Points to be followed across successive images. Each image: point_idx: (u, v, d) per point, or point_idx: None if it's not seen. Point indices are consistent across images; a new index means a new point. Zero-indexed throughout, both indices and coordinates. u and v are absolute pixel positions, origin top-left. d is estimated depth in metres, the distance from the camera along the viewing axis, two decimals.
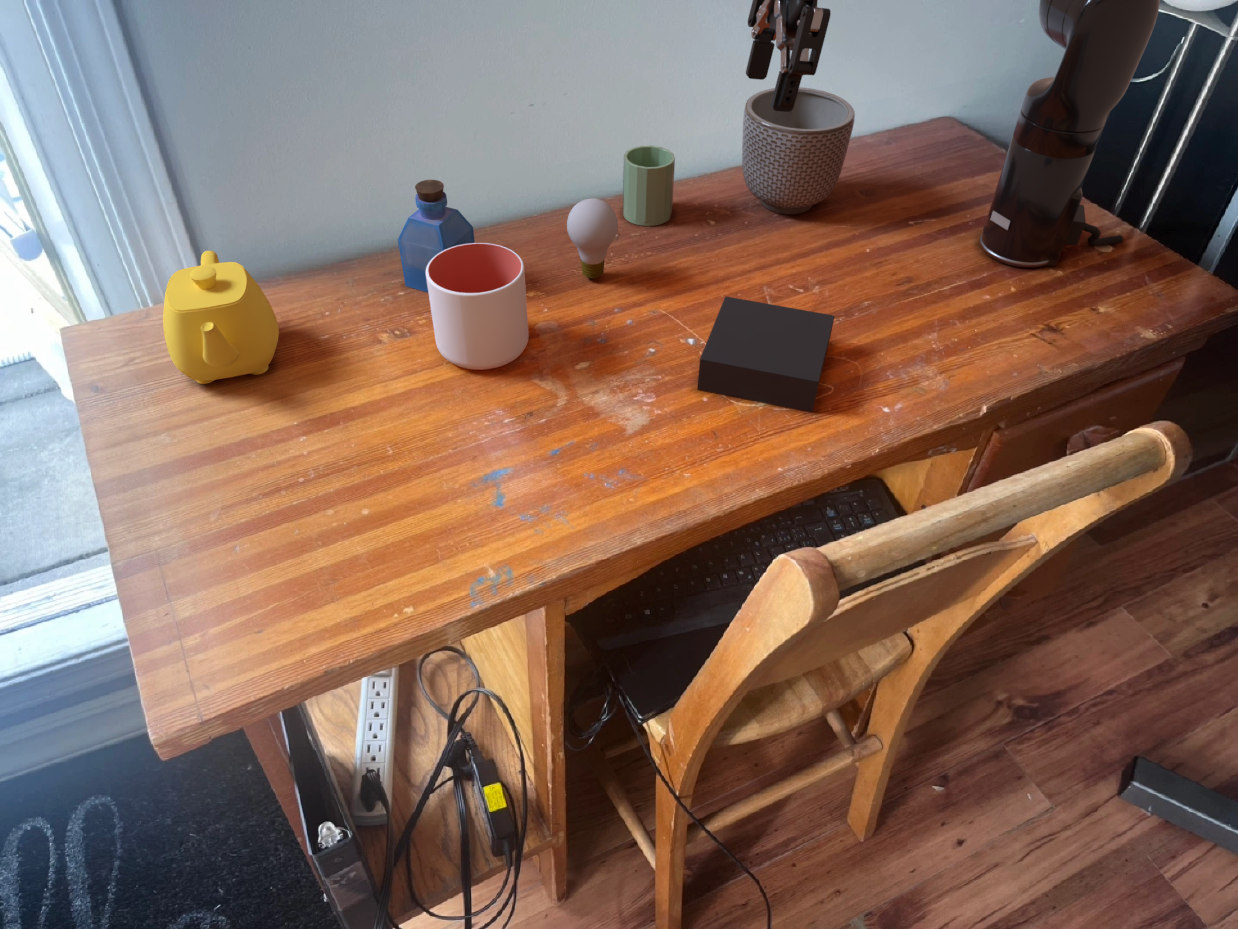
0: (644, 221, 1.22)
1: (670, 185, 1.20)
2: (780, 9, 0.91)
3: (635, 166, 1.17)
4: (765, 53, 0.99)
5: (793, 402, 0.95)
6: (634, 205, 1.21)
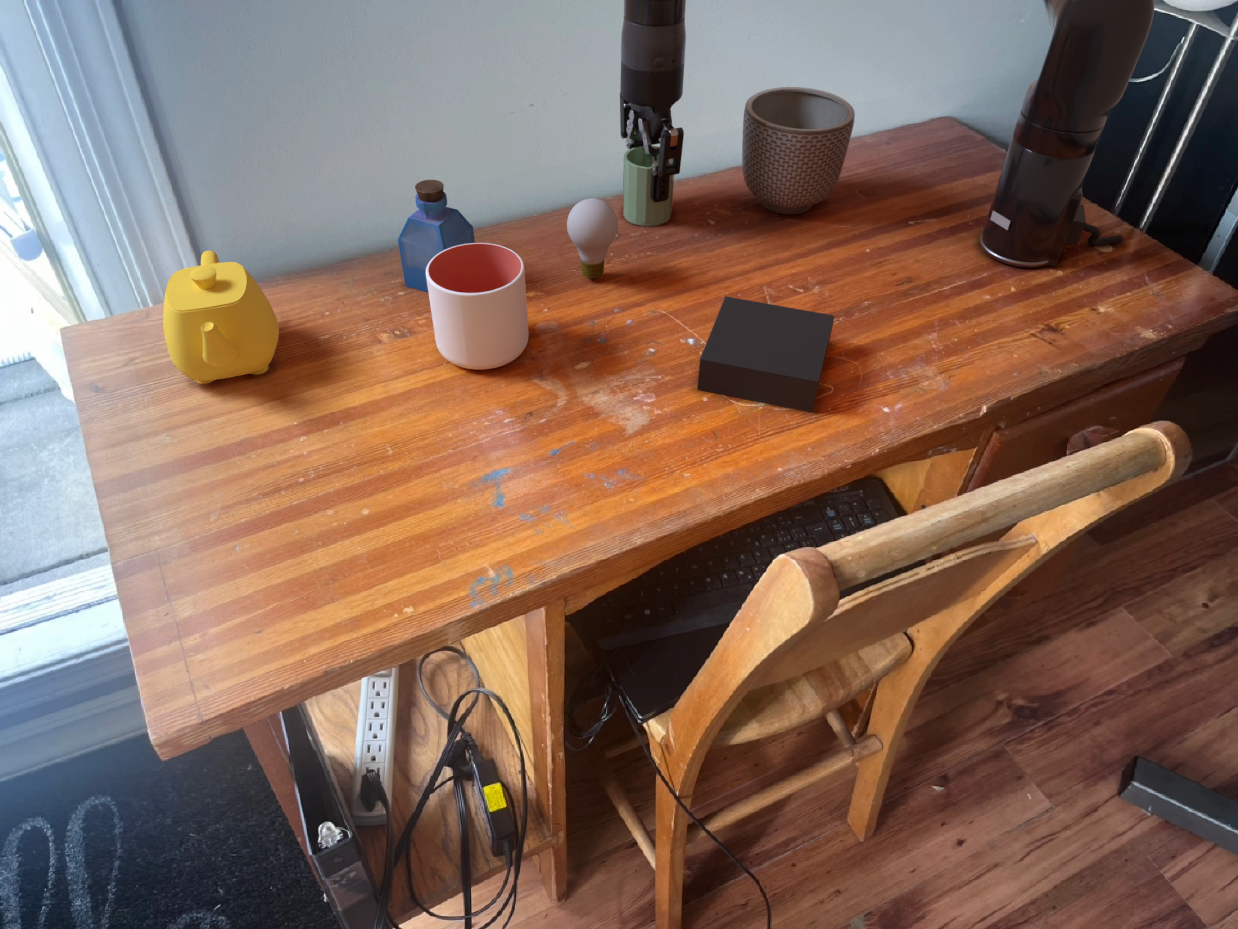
0: (644, 221, 1.22)
1: (670, 185, 1.20)
2: (644, 127, 1.14)
3: (635, 166, 1.17)
4: None
5: (793, 402, 0.95)
6: (634, 205, 1.21)
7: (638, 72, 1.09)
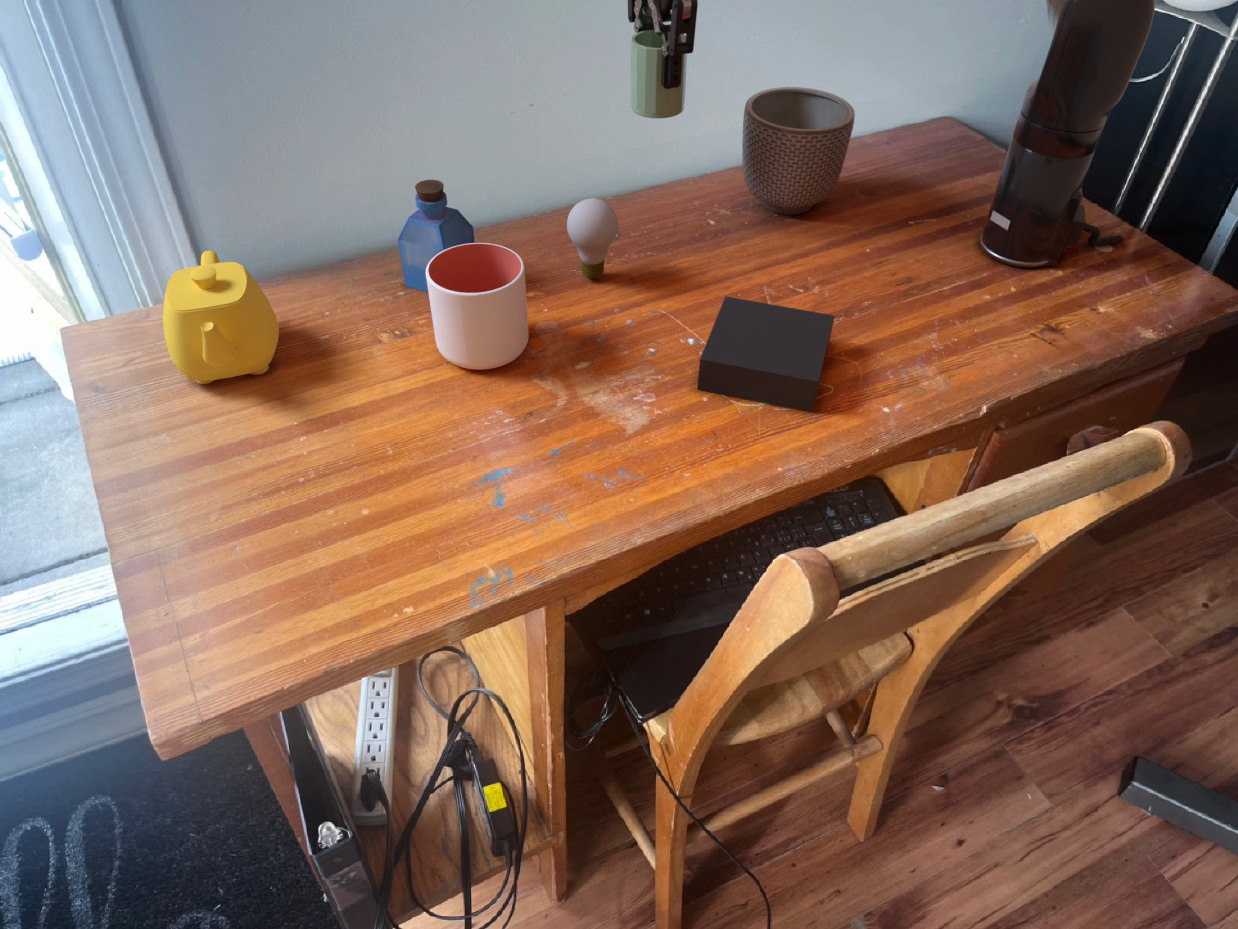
0: (654, 112, 1.11)
1: (682, 71, 1.09)
2: None
3: (644, 47, 1.06)
4: None
5: (793, 402, 0.95)
6: (642, 94, 1.10)
7: None
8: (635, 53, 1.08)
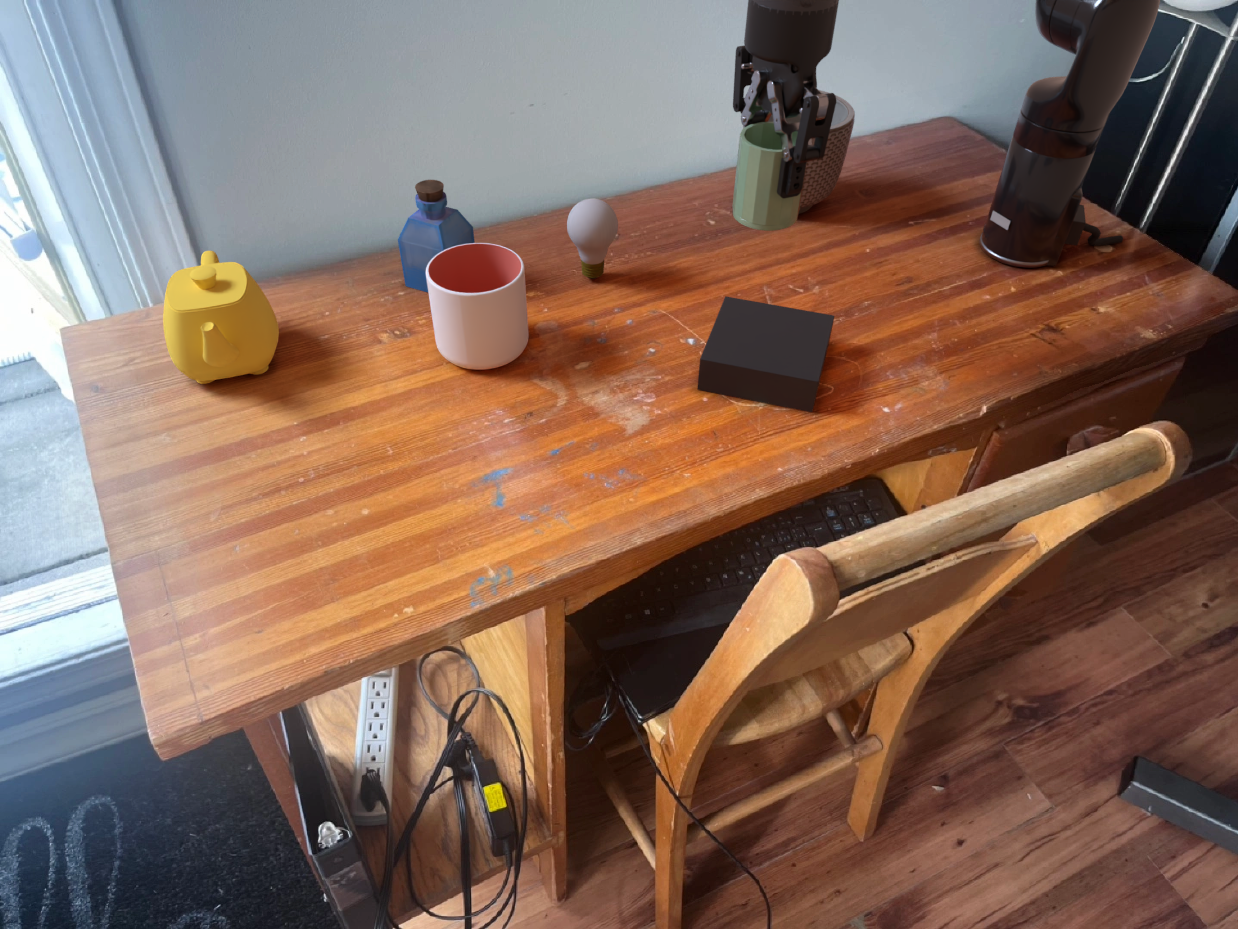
0: (764, 224, 0.90)
1: None
2: (776, 93, 0.82)
3: (758, 149, 0.85)
4: None
5: (793, 402, 0.95)
6: (751, 203, 0.89)
7: (777, 13, 0.77)
8: (745, 154, 0.87)
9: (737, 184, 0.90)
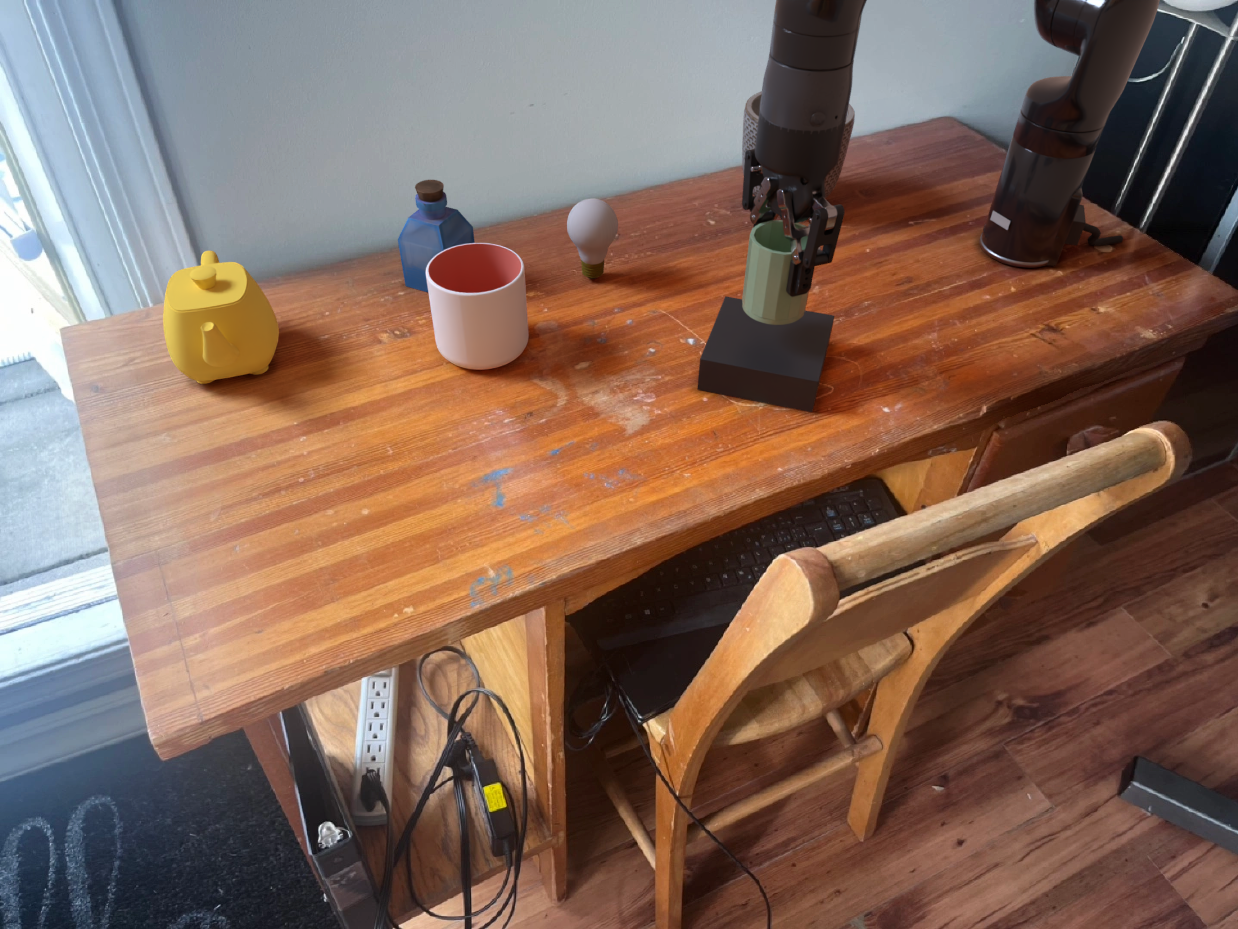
0: (773, 319, 0.93)
1: None
2: (786, 202, 0.85)
3: (768, 251, 0.88)
4: None
5: (793, 402, 0.95)
6: (761, 299, 0.92)
7: (787, 132, 0.80)
8: (755, 255, 0.90)
9: (747, 281, 0.93)
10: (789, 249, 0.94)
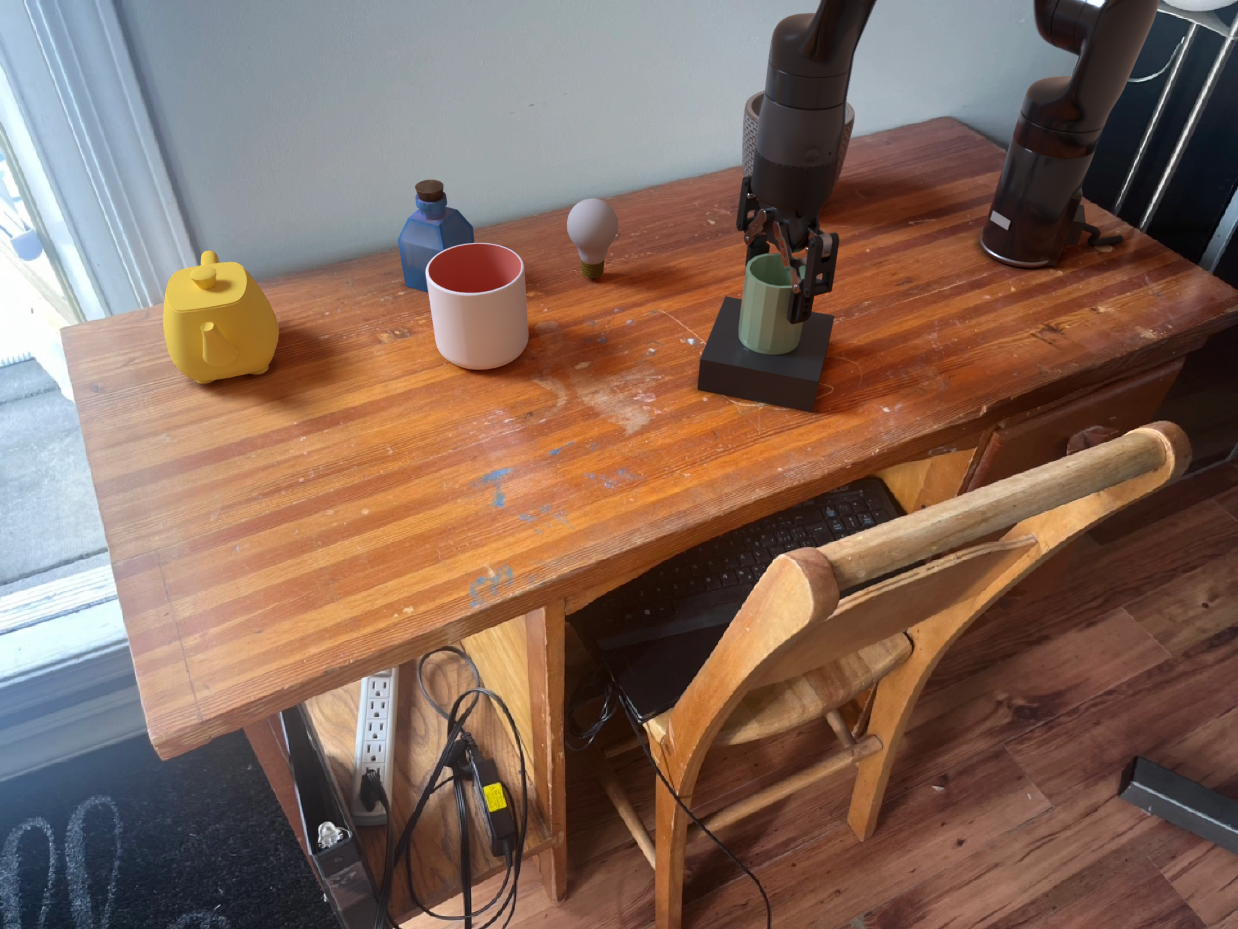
0: (769, 349, 0.95)
1: None
2: (781, 233, 0.87)
3: (763, 285, 0.91)
4: None
5: (793, 402, 0.95)
6: (756, 330, 0.94)
7: (782, 167, 0.82)
8: (751, 288, 0.92)
9: (743, 312, 0.95)
10: (784, 281, 0.97)
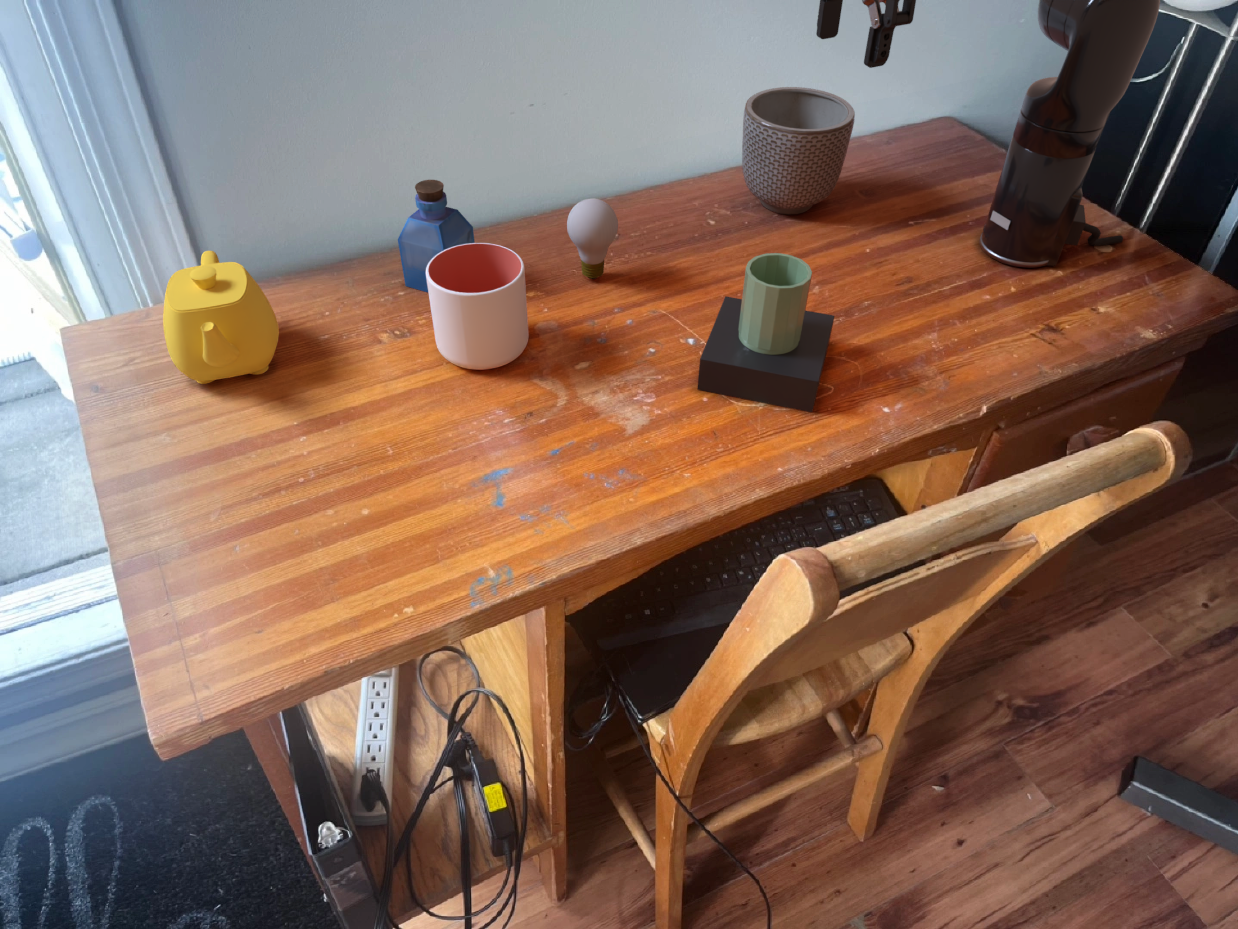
0: (769, 349, 0.95)
1: (804, 306, 0.94)
2: None
3: (763, 285, 0.91)
4: (835, 10, 0.96)
5: (793, 402, 0.95)
6: (756, 330, 0.94)
7: None
8: (751, 288, 0.92)
9: (743, 312, 0.95)
10: (784, 281, 0.97)
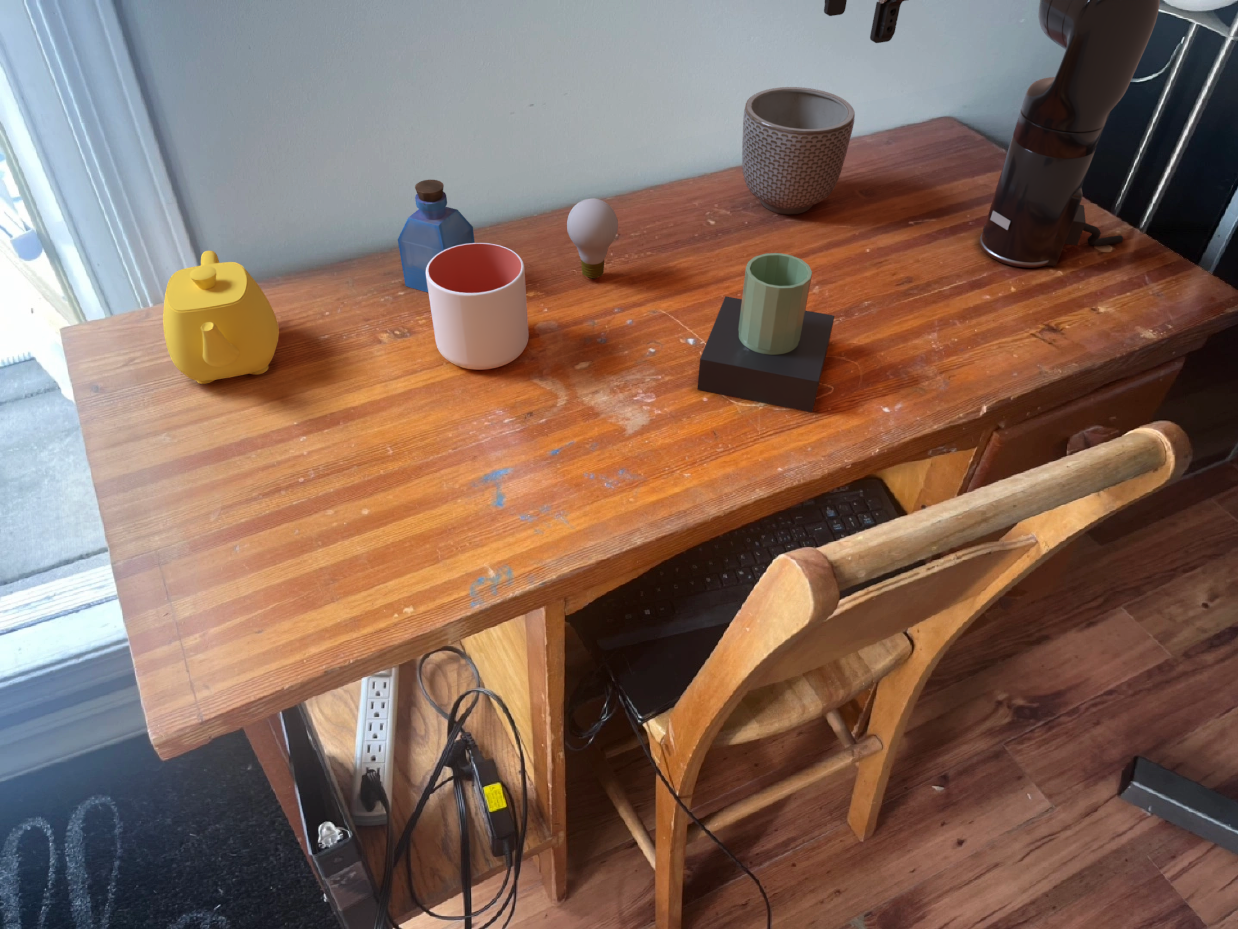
0: (769, 349, 0.95)
1: (804, 306, 0.94)
2: None
3: (763, 285, 0.91)
4: None
5: (793, 402, 0.95)
6: (756, 330, 0.94)
7: None
8: (751, 288, 0.92)
9: (743, 312, 0.95)
10: (784, 281, 0.97)
